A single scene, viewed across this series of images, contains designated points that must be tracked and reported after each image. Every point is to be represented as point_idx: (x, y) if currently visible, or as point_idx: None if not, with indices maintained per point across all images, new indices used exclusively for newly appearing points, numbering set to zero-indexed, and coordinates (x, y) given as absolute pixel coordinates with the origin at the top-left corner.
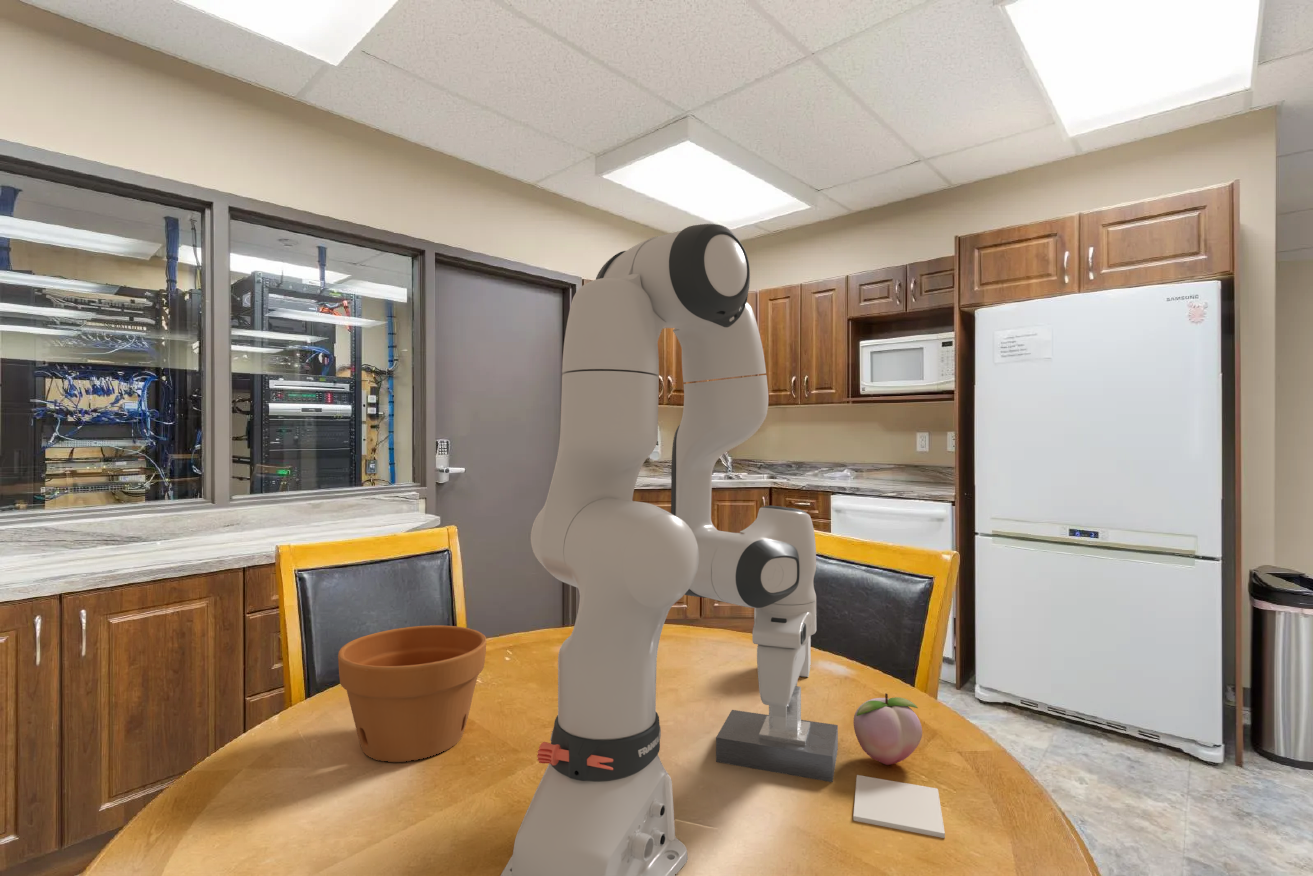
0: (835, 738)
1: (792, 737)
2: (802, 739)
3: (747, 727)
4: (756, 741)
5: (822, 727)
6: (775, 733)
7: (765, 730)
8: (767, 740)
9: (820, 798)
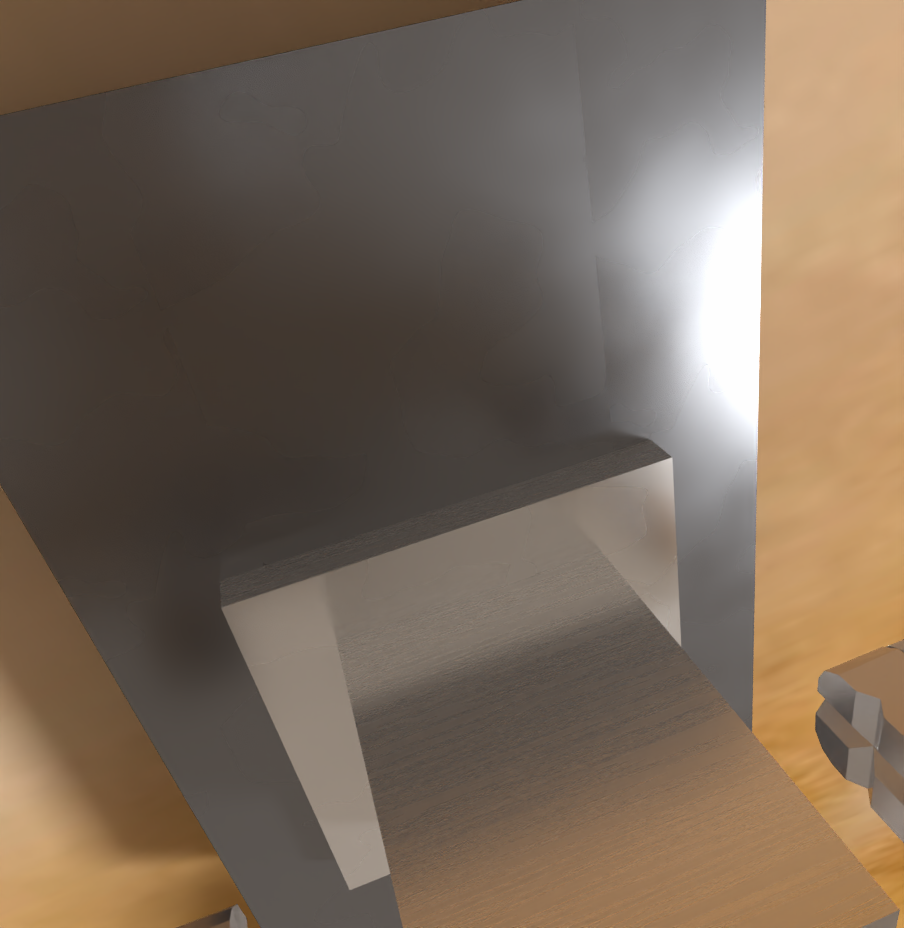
0: None
1: (355, 813)
2: (368, 867)
3: (388, 367)
4: (137, 596)
5: None
6: (339, 699)
7: (347, 607)
8: (235, 652)
9: (85, 889)
